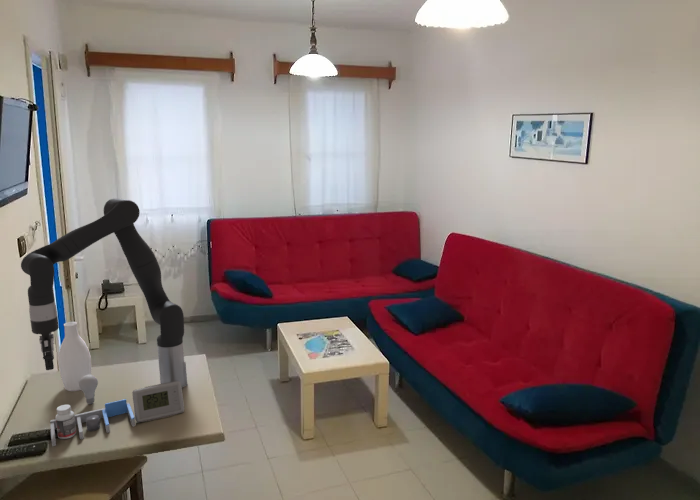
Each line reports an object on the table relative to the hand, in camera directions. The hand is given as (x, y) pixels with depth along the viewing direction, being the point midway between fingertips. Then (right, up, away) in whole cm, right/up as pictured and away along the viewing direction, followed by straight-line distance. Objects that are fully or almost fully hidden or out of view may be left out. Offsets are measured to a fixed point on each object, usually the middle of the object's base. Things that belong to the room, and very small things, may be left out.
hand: (50, 364), depth 176 cm
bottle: (-8, -16, +35) cm, 39 cm away
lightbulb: (+3, -19, +21) cm, 28 cm away
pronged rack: (+12, -22, +5) cm, 25 cm away
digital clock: (+31, -20, +13) cm, 39 cm away
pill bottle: (+5, -23, +1) cm, 24 cm away
